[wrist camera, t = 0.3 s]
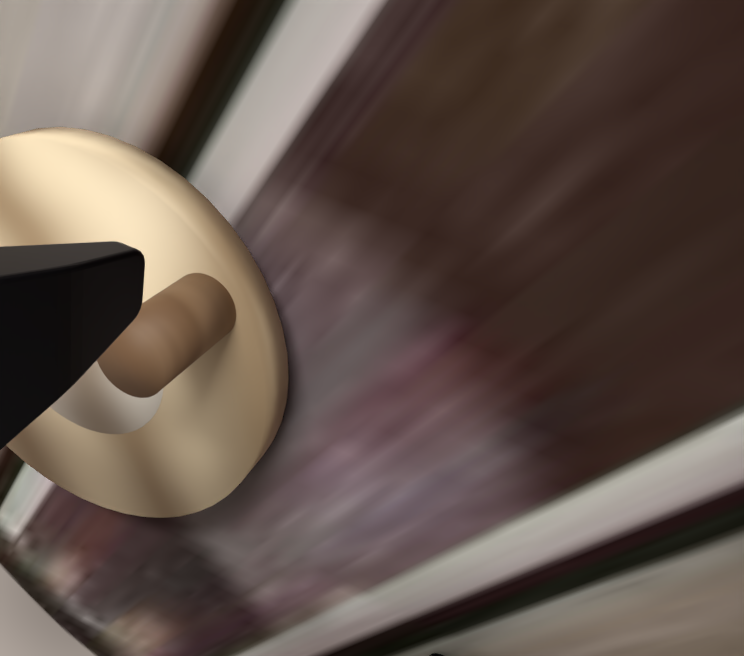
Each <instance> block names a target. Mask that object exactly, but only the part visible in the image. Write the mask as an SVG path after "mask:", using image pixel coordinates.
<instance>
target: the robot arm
mask: <svg viewBox="0 0 744 656" xmlns="http://www.w3.org/2000/svg"><path fill="white" fill-rule="evenodd" d="M144 272H145V259H144V255H143V254H142V252H141V251H139V250H138V249H135V248H133V247H130V246H128V245H126V244H123V243H121V242H117V241H107V242H86V243H65V244H44V245H23V246H2V247H0V450H1V449H2V448H3V447H4V446H5V445H7V444H8V443H9V442H10V441H11V440H12V439H13V438H15V437H16V436H17V435H18V434H19V433H20V432H21V431H23V430H24V429H25V428H26V427H27V426H28V425H29V424H31V423H32V422H33V421H34V420H35V419H36V418H37V417H39V416H40V415H41V414H42V413H43V412H44V411H45V410H47V409H48V408H49V407H50V406H51V405H52V404H53V403H55V402H56V401H57V400H58V399H59V398H60V397H61V396H62V395H63V394H65V393H66V392H67V391H68V390H69V389H70V388H71V387H72V386H73V385H74V384H75V383H76V382H77V381H78V380H79V379H80V378H81V377H82V376H83V375H84V374H85V373H86V371H87V370H88V369H89V368H90V367H91V366H92V365H93V364H94V363H95V362H96V361H97V360H98V358H99V357H100V356H101V355H102V354H103V353H104V352H105V351H106V350H107V349H108V348H109V346H110V345H111V344H112V343H113V342H114V341H115V340H116V339H117V338H118V337H119V336H120V335H121V333H122V332H123V331H124V330H125V329H126V328H127V327H128V326H129V325H130V324H131V323H132V322H133V320H134V319H135V318H136V317H137V315H138V313H139V311H140V309H141V306H142V301H143V287H144ZM430 656H444V655H441V654H437V653H436V654H431V655H430Z"/></svg>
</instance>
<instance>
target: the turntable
mask: <svg viewBox="0 0 744 656" xmlns="http://www.w3.org/2000/svg"><path fill="white" fill-rule="evenodd" d="M107 241H117V242H121V243H123V244H126V245H128V246H130V247H133V248H135V249H138V250H139V251H141V252H142V254H143V255H144V259H145V272H144V287H143V301H142V306H141V309H140V311H139V313H138V315H137V317H136V318H135V319H134V320H133V322H132V323H131V324H130V325H129V326H128V327H127V328H126V329H125V330H124V331H123V332H122V333H121V335H120V336H119V337H118V338H117V339H116V340H115V341H114V342H113V343H112V344H111V345H110V346H109V348H108V349H107V350H106V351H105V352H104V353H103V354H102V355H101V356H100V357H99V358H98V360H97V361H96V362H95V363H94V364H93V365H92V366H91V367H90V368H89V369H88V370H87V371H86V373H85V374H84V375H83V376H82V377H81V378H80V379H79V380H78V381H77V382H76V383H75V384H74V385H73V386H72V387H71V388H70V389H69V390H68V391H67V392H66V393H65V394H63V395H62V396H61V397H60V398H59V399H58V400H57V401H56V402H55V403H53V404H52V405H51V406H50V407H49V408H48V409H47V410H45V411H44V412H43V413H42V414H41V415H40V416H39V417H37V418H36V419H35V420H34V421H33V422H32V423H31V424H29V425H28V426H27V427H26V428H25V429H24V430H23V431H21V432H20V433H19V434H18V435H17V436H16V437H15V438H13V439H12V440H11V441H10V442H9V443H8V444H7V446H8V447H9V448H10V449H11V450H12V451H13V452H14V453H16V454H17V455H18V456H19V457H20V458H21V459H22V460H24V461H25V462H26V463H27V464H28V465H30V466H31V467H32V468H34V469H35V470H36V471H38V472H39V473H40V474H42V475H43V476H44V477H46V478H48V479H49V480H51V481H52V482H54V483H55V484H57V485H59V486H60V487H62V488H63V489H65V490H67V491H69V492H71V493H73V494H75V495H77V496H78V497H80V498H82V499H85V500H87V501H89V502H92V503H94V504H97V505H99V506H101V507H104V508H108V509H111V510H114V511H118V512H121V513H125V514H130V515H136V516H141V517H156V518H166V517H178V516H184V515H188V514H192V513H196V512H199V511H201V510H204V509H206V508H208V507H211V506H213V505H215V504H216V503H218V502H219V501H221V500H222V499H224V498H225V497H226V496H228V495H229V494H230V493H231V492H232V491H233V490H234V489H235V488H236V487H237V486H238V485H239V484H240V483H241V482H242V481H243V479H244V478H245V477H246V476H247V475H248V473H249V472H250V471H251V470H252V468H253V467H254V466H255V465H256V464H257V462H258V461H259V460H260V459H261V457H262V456H263V455H264V454H265V452H266V451H267V449H268V448H269V446H270V445H271V443H272V442H273V440H274V438H275V436H276V433H277V431H278V429H279V427H280V424H281V422H282V418H283V414H284V410H285V406H286V402H287V392H288V381H289V375H288V356H287V349H286V344H285V339H284V333H283V328H282V325H281V322H280V318H279V315H278V312H277V309H276V306H275V302H274V300H273V298H272V295H271V293H270V291H269V289H268V286H267V284H266V282H265V279H264V277H263V275H262V273H261V271H260V270H259V268H258V266H257V264H256V263H255V261H254V259H253V258H252V256H251V254H250V252H249V251H248V249H247V247H246V246H245V245H244V243H243V242H242V240H241V239H240V238H239V236H238V235H237V233H236V232H235V231H234V229H233V228H232V227H231V225H230V224H229V223H228V221H227V220H226V219H225V218H224V217H223V216H222V215H221V214H220V212H219V211H218V210H217V209H216V208H215V207H214V206H213V205H212V203H211V202H210V201H209V200H208V199H207V198H206V197H205V196H204V195H202V194H201V193H200V192H199V191H198V190H197V189H196V188H195V187H194V186H193V185H192V184H190V183H189V182H188V181H187V180H186V179H185V178H183V177H182V176H181V175H179V174H178V173H177V172H175V171H174V170H173V169H171V168H170V167H168V166H167V165H166V164H164V163H163V162H162V161H160V160H158V159H157V158H155V157H153V156H151V155H149V154H148V153H146V152H144V151H142V150H141V149H139V148H137V147H135V146H133V145H131V144H128V143H126V142H123V141H121V140H118V139H116V138H114V137H111V136H108V135H104V134H100V133H97V132H93V131H89V130H85V129H76V128H66V127H52V128H38V129H34V130H30V131H26V132H22V133H18V134H15V135H11V136H7V137H3V138H0V247H2V246H23V245H44V244H65V243H86V242H107Z"/></svg>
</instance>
